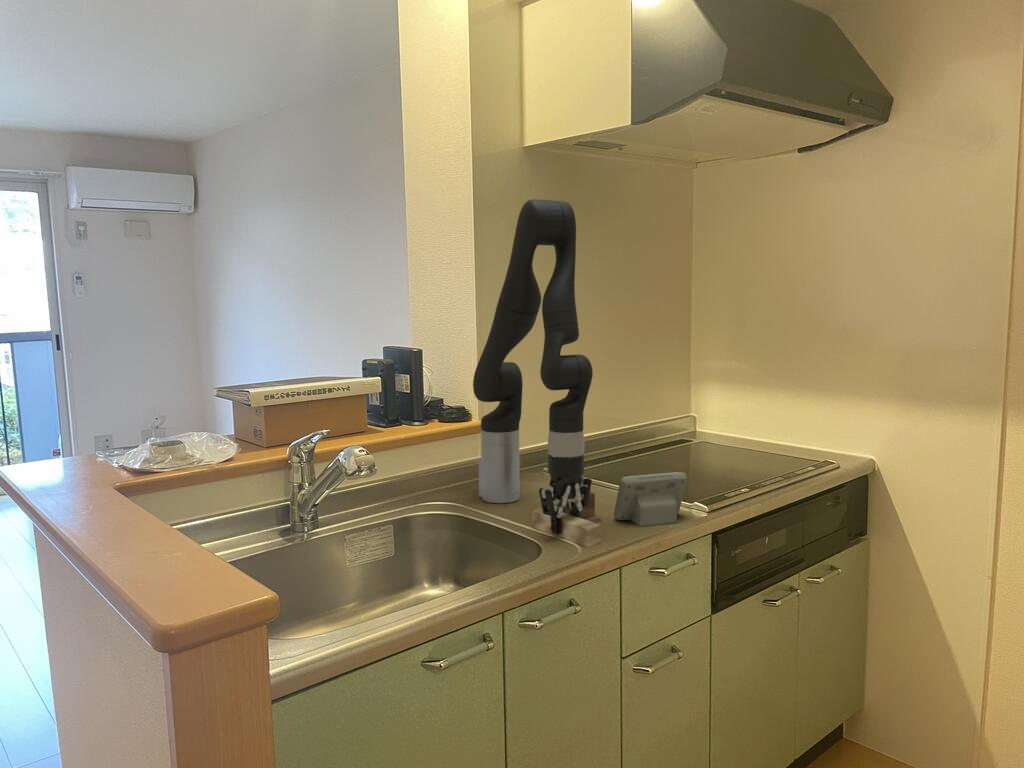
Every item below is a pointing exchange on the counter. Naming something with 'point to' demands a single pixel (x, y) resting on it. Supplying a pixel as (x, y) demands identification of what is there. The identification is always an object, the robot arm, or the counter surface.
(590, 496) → the walnut ridge
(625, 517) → the digital clock
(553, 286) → the robot arm
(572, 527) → the beige long bar
